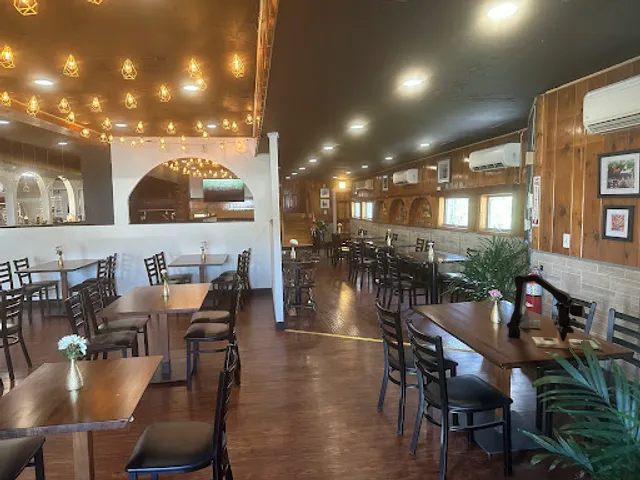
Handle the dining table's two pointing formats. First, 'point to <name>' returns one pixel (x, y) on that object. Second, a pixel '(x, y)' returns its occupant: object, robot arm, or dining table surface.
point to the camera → (528, 320)
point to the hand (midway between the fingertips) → (563, 341)
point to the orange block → (565, 338)
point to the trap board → (563, 343)
